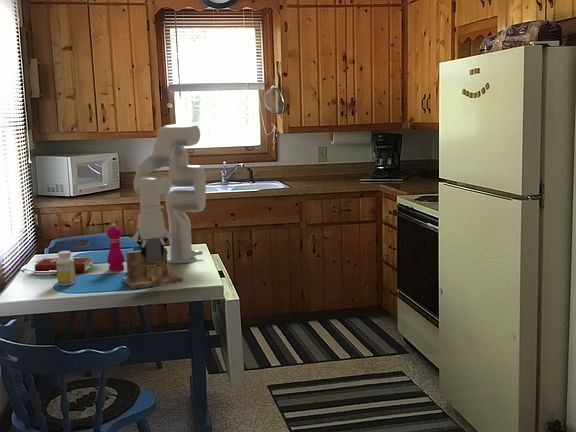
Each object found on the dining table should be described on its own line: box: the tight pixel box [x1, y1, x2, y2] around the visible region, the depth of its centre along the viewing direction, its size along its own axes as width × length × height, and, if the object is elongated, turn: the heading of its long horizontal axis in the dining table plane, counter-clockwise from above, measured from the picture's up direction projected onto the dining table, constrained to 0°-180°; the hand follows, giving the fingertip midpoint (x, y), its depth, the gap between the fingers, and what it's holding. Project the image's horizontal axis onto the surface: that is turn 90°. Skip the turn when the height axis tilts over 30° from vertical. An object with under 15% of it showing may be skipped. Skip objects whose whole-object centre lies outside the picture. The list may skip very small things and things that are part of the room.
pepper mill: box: [106, 222, 126, 272], centre depth 291 cm, size 7×7×20 cm
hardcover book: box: [34, 257, 93, 273], centre depth 296 cm, size 12×21×4 cm, turn 91°
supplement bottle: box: [56, 250, 76, 287], centre depth 270 cm, size 7×7×13 cm
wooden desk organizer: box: [121, 246, 184, 290], centre depth 271 cm, size 20×15×12 cm
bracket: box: [144, 239, 162, 262], centre depth 267 cm, size 6×2×9 cm, turn 118°
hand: (152, 255), depth 268 cm, fingers closed on bracket, 6 cm apart
